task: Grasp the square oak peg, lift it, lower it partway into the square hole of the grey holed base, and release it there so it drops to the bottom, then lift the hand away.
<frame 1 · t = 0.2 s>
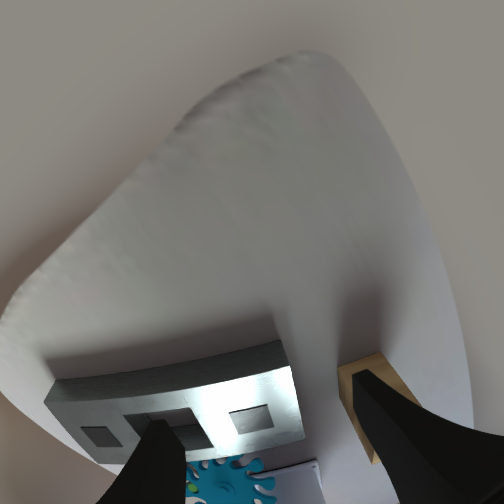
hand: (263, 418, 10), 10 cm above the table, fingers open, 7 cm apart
grey holed base: (172, 407, 22), on the table
peg: (359, 375, 23), on the table
gear: (219, 460, 25), on the table
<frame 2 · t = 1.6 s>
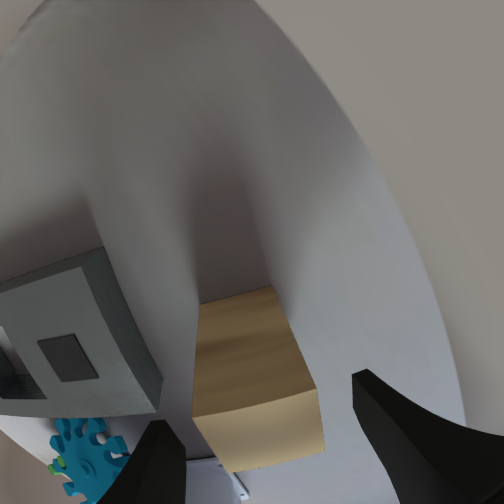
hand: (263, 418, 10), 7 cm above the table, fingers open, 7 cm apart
grey holed base: (20, 343, 15), on the table
peg: (244, 326, 16), on the table
gear: (97, 435, 19), on the table
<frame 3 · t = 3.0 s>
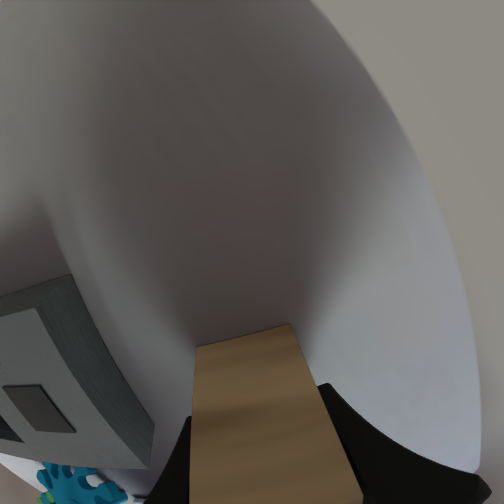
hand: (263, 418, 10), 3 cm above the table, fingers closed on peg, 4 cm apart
peg: (253, 370, 13), on the table, touching gripper
gear: (88, 471, 15), on the table
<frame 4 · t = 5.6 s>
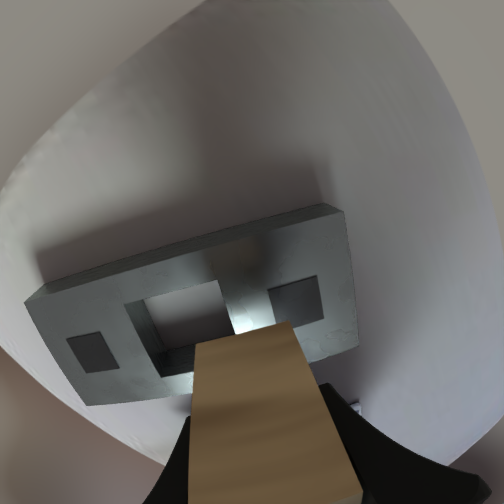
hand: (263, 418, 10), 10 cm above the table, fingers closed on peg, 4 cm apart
grey holed base: (189, 309, 19), on the table
peg: (253, 367, 13), point 7 cm above the table, touching gripper
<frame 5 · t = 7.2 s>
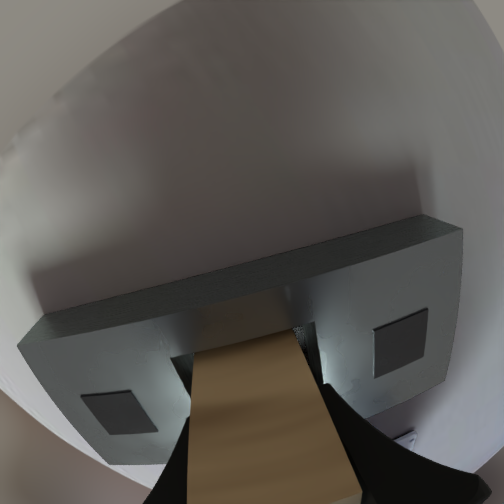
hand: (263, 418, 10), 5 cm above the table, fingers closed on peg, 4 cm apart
grey holed base: (250, 350, 14), on the table
peg: (252, 367, 13), point 1 cm above the table, touching gripper
when the fingers open (4 cm above the table, at t = 8.2 s): peg stays where it is, resting in grey holed base.
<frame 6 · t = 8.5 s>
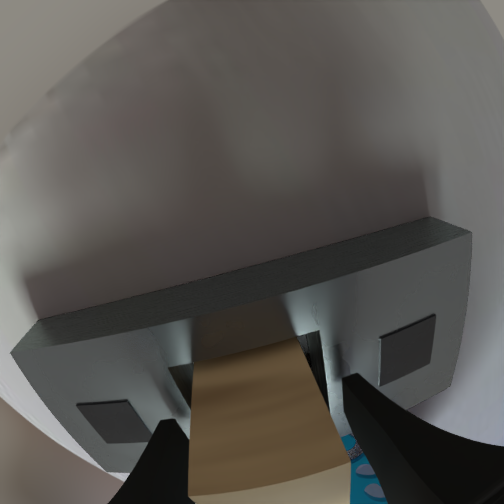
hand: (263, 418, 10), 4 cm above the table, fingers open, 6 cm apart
grey holed base: (251, 357, 13), on the table
peg: (250, 355, 13), resting in grey holed base
gear: (299, 456, 17), on the table
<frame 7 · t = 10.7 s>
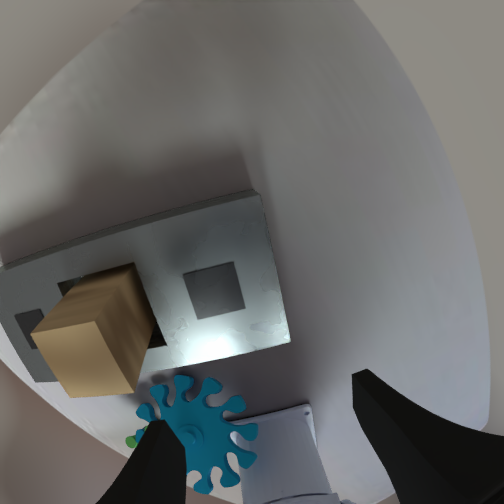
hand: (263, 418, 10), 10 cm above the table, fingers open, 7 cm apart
grey holed base: (123, 293, 19), on the table
peg: (122, 291, 19), resting in grey holed base
gear: (188, 402, 22), on the table
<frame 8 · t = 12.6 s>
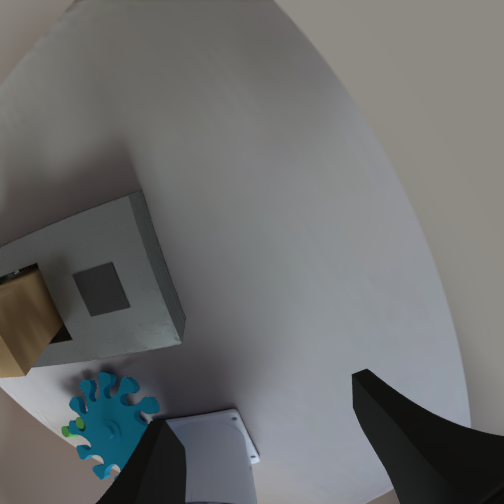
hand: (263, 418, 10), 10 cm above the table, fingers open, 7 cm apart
grey holed base: (46, 292, 18), on the table
peg: (46, 290, 18), resting in grey holed base
gear: (119, 399, 22), on the table
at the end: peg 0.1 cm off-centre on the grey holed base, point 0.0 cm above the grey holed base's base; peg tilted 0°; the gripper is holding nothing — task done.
